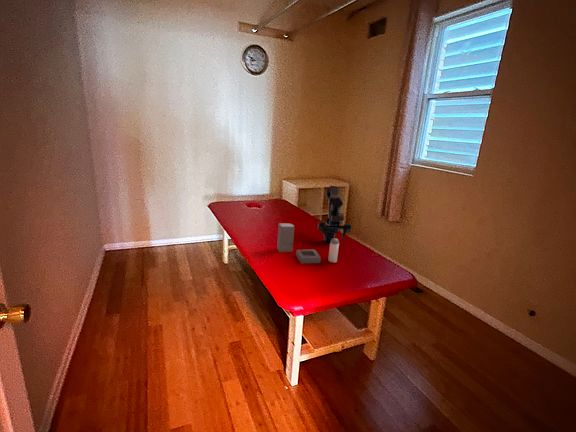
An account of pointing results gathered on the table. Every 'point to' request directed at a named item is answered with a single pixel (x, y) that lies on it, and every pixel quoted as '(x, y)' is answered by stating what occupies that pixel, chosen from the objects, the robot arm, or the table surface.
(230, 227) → the table surface
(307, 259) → the jig
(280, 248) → the skincare box
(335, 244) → the grey round-top peg
